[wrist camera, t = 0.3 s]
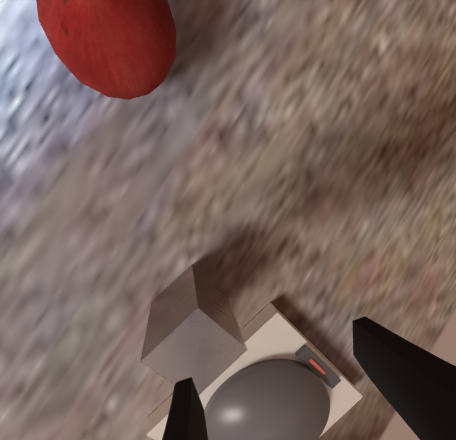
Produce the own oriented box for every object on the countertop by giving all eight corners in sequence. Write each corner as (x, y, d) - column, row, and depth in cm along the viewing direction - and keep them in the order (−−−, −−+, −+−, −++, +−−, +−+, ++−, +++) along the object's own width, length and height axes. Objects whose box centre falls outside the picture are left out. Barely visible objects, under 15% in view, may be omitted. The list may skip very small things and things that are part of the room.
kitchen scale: (251, 477, 26) (259, 509, 23) (148, 416, 21) (144, 448, 19) (352, 383, 26) (370, 406, 23) (270, 302, 21) (282, 319, 19)
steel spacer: (190, 332, 20) (195, 398, 14) (151, 302, 19) (140, 361, 13) (227, 297, 20) (247, 349, 14) (191, 264, 19) (198, 307, 13)
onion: (59, 20, 14) (-89, -162, 6) (155, -3, 14) (130, -193, 7) (104, 122, 15) (31, 80, 8) (188, 97, 16) (198, 36, 8)
